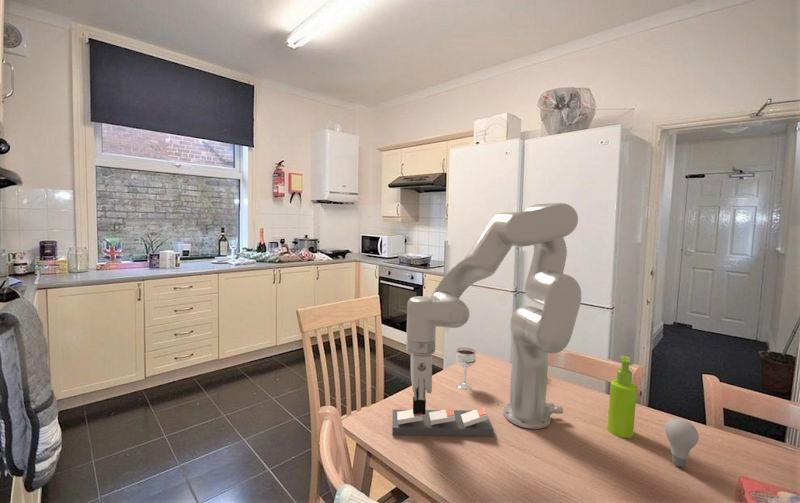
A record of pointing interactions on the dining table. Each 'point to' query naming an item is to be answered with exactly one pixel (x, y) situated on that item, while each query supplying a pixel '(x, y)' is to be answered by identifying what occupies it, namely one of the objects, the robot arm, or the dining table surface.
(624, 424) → the soap dispenser
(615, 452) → the dining table surface
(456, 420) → the strip
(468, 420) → the rocker
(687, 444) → the lightbulb
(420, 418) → the block
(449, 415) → the rocker middle
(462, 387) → the wineglass
